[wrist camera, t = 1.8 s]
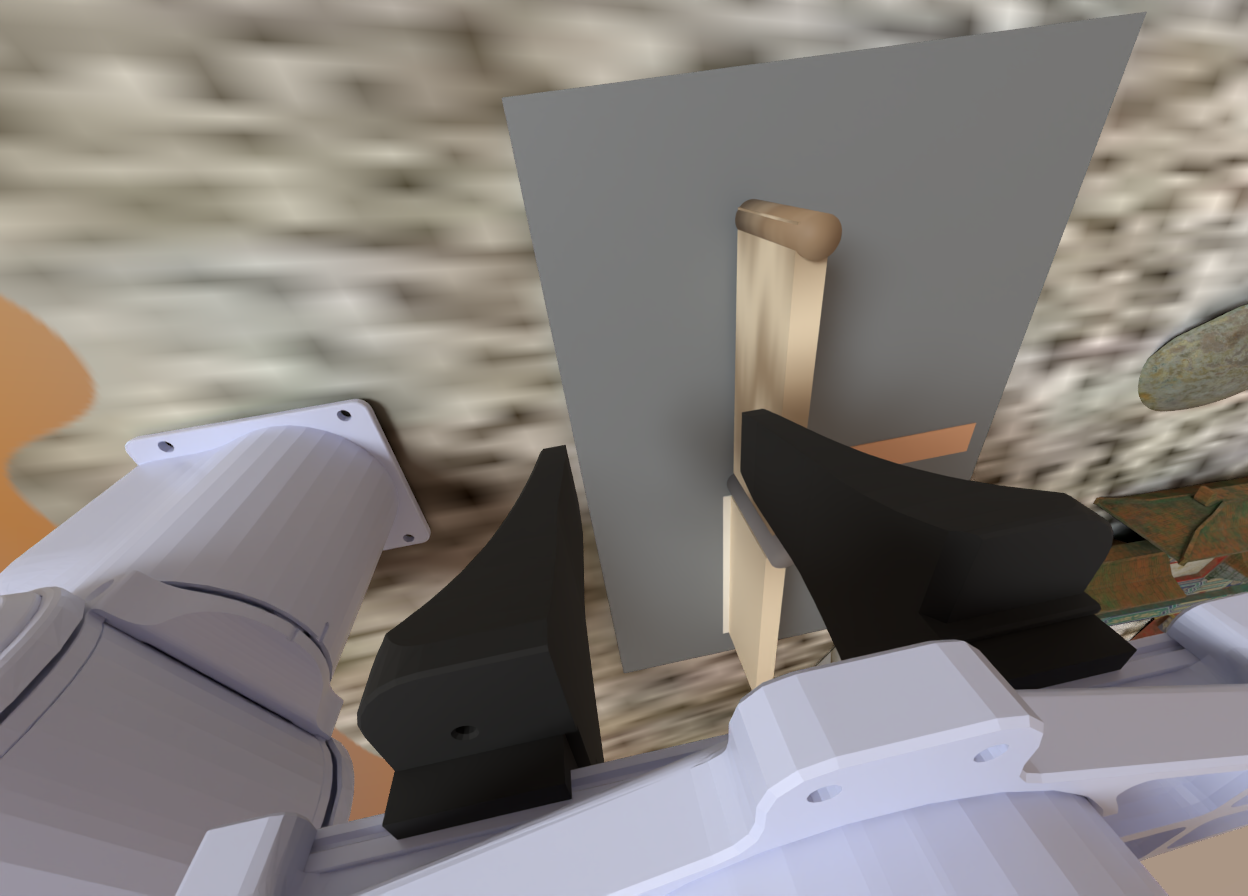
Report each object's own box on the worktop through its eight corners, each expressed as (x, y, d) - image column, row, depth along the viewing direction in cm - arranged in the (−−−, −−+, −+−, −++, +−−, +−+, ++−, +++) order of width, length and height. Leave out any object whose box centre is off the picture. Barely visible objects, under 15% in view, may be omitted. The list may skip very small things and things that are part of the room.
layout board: (622, 665, 32) (637, 758, 27) (502, 99, 15) (484, 70, 10) (915, 601, 34) (981, 679, 29) (1127, 16, 16) (1393, -47, 11)
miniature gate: (916, 765, 42) (1110, 550, 24) (879, 703, 47) (1021, 481, 28) (1169, 710, 45) (1515, 479, 27) (1112, 656, 49) (1376, 427, 31)
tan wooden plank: (754, 468, 23) (801, 537, 19) (731, 473, 23) (773, 542, 19) (767, 196, 16) (845, 209, 12) (735, 201, 16) (802, 216, 12)
